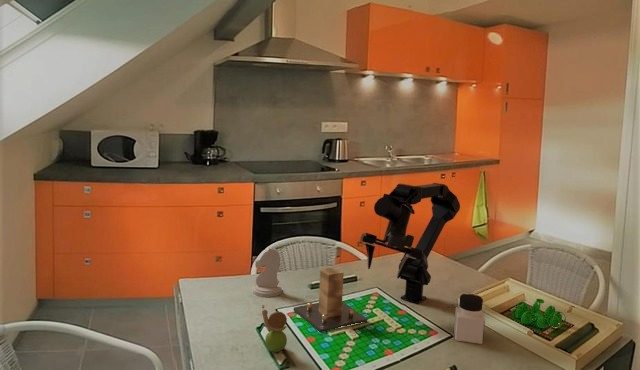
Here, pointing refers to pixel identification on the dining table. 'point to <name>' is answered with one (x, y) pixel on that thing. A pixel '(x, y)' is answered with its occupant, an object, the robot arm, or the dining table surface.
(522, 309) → the green bumpy clump
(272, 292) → the chess piece
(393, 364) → the dining table surface
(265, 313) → the snail figurine
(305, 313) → the standoff plate
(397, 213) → the robot arm
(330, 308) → the wood block
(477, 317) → the medicine bottle
